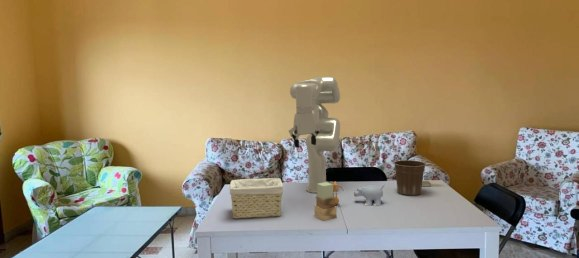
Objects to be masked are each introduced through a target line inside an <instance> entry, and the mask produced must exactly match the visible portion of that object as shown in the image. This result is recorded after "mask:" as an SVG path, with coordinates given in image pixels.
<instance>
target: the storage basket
mask: <svg viewBox="0 0 579 258" xmlns="http://www.w3.org/2000/svg"><path fill="white" fill-rule="evenodd" d="M229 183H230V184H229V195H230V200H231V211H232V218H233V219H248V218H249V219H251V218H269V217H273V218H274V217H280V216H282V215H281V214H282V213H281V210H282V198H283V192H284V189H283V188H284V186H283V182H282V179H281V178H279V177H277V178H276V177H274V178H273V177H271V178H270V177H268V178H246V179H245V178H244V179H243V178H242V179H241V178H240V179H232V180H231V181H230V182H229Z"/></svg>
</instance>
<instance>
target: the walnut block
mask: <svg viewBox="0 0 579 258" xmlns="http://www.w3.org/2000/svg"><path fill="white" fill-rule="evenodd" d="M315 198H316V204H315V205H316V206H318V207H320V208H322V209H328V208H333V207H335V206H336V205H335V198H329V199H324V200H323V199H321V198H319V197H317V196H316V197H315Z"/></svg>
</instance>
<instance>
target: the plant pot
mask: <svg viewBox="0 0 579 258" xmlns="http://www.w3.org/2000/svg"><path fill="white" fill-rule="evenodd" d="M393 165H394V170H395V178H396V191H397V194H399V195H400V194H401V195H406V196H411V197H413V196H420V195H421V194H422V187H423V180H424V173H425V169H426V166H427V163H426V162H424V161H419V160H409V159H407V160H405V159H402V160H395V161H394V162H393Z"/></svg>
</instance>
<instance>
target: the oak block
mask: <svg viewBox="0 0 579 258" xmlns="http://www.w3.org/2000/svg"><path fill="white" fill-rule="evenodd" d="M337 213H338V212H337V206H336V205H335V207H333V208H328V209H322V208H320V207H318V206H316V204H315V205H314V217H316V218H318V219H319V220H321V221H323V222H324V221H327V220H332V219H336V218H337V216H338V215H337Z"/></svg>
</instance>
